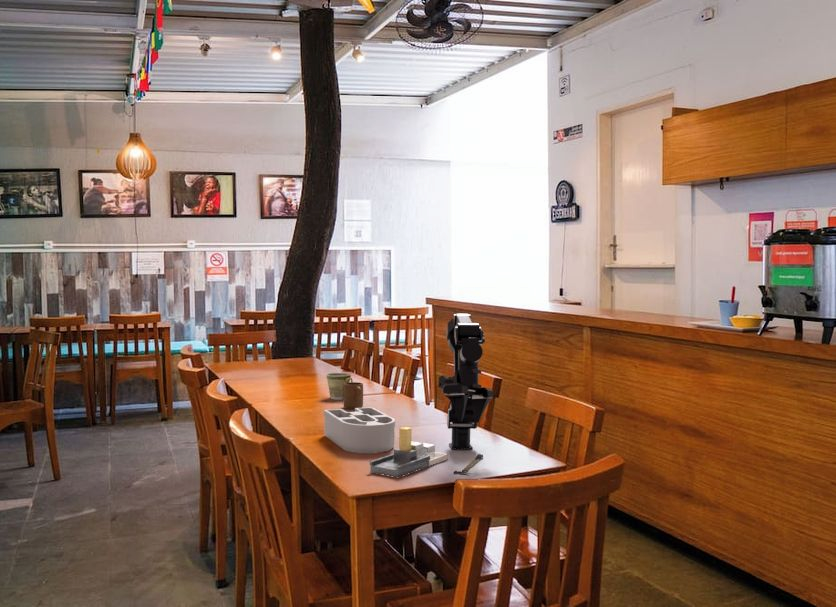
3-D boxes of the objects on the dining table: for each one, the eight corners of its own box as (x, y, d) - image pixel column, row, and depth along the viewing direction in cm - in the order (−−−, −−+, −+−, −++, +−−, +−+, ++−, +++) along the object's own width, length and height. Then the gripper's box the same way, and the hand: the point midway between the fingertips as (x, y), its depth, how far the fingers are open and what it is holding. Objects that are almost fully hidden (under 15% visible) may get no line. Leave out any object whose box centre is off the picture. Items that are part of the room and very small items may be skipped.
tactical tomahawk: (476, 480, 209) (476, 476, 209) (452, 475, 211) (453, 471, 211) (498, 461, 229) (498, 457, 228) (476, 456, 231) (476, 453, 231)
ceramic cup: (321, 398, 326) (321, 374, 325) (338, 395, 333) (339, 372, 333) (343, 402, 317) (343, 377, 317) (360, 399, 325) (360, 375, 324)
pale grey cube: (411, 455, 223) (411, 441, 223) (423, 457, 221) (423, 443, 220) (403, 458, 219) (403, 443, 219) (415, 460, 217) (415, 445, 217)
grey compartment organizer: (371, 433, 262) (372, 407, 261) (402, 451, 236) (403, 423, 236) (323, 436, 255) (323, 410, 255) (349, 456, 230) (350, 427, 229)
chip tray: (421, 454, 232) (421, 449, 232) (447, 459, 227) (447, 454, 227) (402, 461, 224) (402, 456, 223) (429, 466, 219) (429, 461, 219)
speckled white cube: (415, 459, 225) (423, 456, 228) (427, 461, 222) (434, 458, 226) (415, 445, 224) (423, 442, 228) (427, 447, 222) (435, 444, 226)
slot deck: (401, 461, 224) (401, 450, 223) (429, 466, 218) (430, 455, 218) (369, 472, 211) (369, 461, 211) (399, 478, 206) (399, 467, 206)
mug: (369, 410, 300) (369, 386, 299) (350, 411, 297) (350, 387, 296) (359, 405, 311) (359, 381, 310) (340, 406, 308) (341, 382, 308)
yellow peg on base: (399, 458, 219) (400, 426, 219) (416, 461, 216) (417, 428, 216) (393, 460, 217) (394, 427, 216) (410, 463, 214) (411, 430, 213)
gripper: (460, 371, 236) (461, 424, 232) (426, 365, 220) (426, 421, 217) (493, 369, 229) (494, 423, 226) (460, 362, 214) (460, 420, 211)
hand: (468, 422), depth 220 cm, fingers open, 9 cm apart
